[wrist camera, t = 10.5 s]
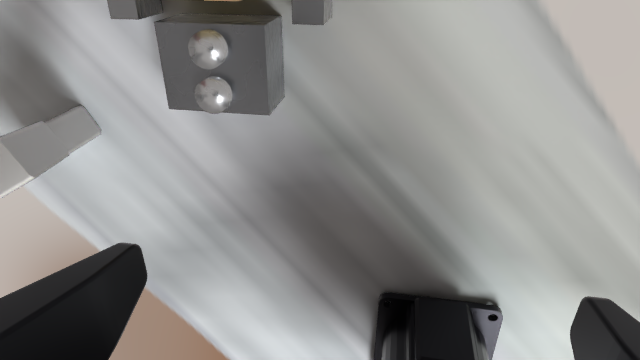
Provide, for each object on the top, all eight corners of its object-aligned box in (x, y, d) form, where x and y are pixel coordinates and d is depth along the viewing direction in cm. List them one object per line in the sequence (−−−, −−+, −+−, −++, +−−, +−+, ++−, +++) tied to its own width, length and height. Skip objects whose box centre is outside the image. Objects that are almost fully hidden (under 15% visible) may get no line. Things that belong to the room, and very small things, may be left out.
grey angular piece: (52, 161, 24) (-90, 249, 17) (30, 135, 24) (-126, 215, 17) (144, 109, 22) (20, 187, 15) (122, 77, 21) (-18, 144, 14)
